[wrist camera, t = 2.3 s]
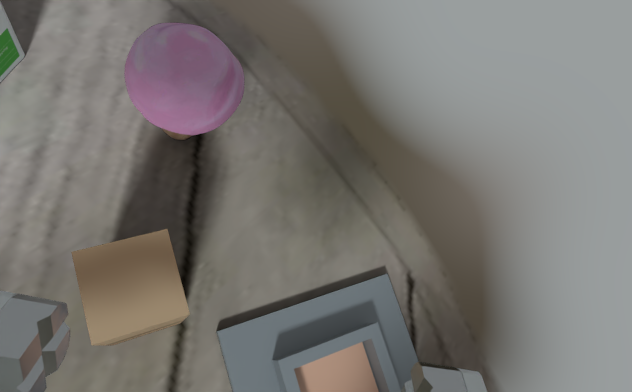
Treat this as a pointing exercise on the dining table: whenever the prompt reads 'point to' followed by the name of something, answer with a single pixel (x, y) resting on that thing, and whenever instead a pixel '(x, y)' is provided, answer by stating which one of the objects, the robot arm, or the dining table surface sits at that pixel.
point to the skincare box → (8, 46)
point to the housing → (324, 344)
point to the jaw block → (130, 288)
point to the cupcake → (183, 79)
